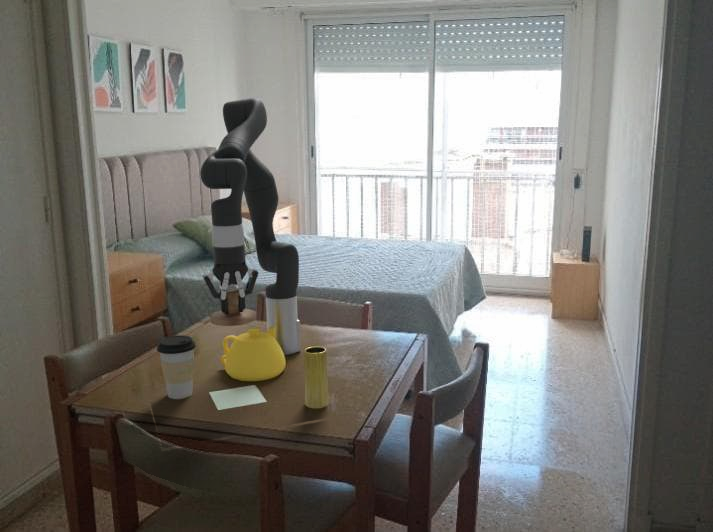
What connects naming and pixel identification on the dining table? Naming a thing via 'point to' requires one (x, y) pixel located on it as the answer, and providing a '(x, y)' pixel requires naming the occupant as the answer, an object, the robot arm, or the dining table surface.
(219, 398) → the mat
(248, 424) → the dining table surface
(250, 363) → the teapot
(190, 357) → the coffee cup
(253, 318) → the lid
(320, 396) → the vase
